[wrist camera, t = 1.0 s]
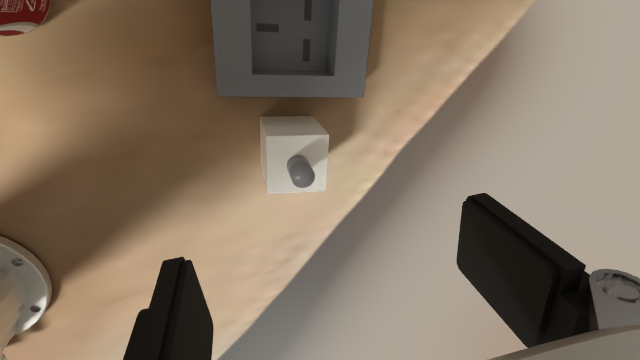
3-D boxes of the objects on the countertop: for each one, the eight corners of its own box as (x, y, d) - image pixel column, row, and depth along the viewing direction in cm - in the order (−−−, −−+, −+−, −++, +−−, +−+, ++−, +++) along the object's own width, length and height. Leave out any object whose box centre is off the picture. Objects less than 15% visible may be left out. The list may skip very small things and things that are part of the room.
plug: (310, 164, 35) (333, 204, 27) (260, 166, 34) (270, 208, 26) (312, 115, 33) (337, 144, 25) (259, 116, 32) (269, 146, 24)
